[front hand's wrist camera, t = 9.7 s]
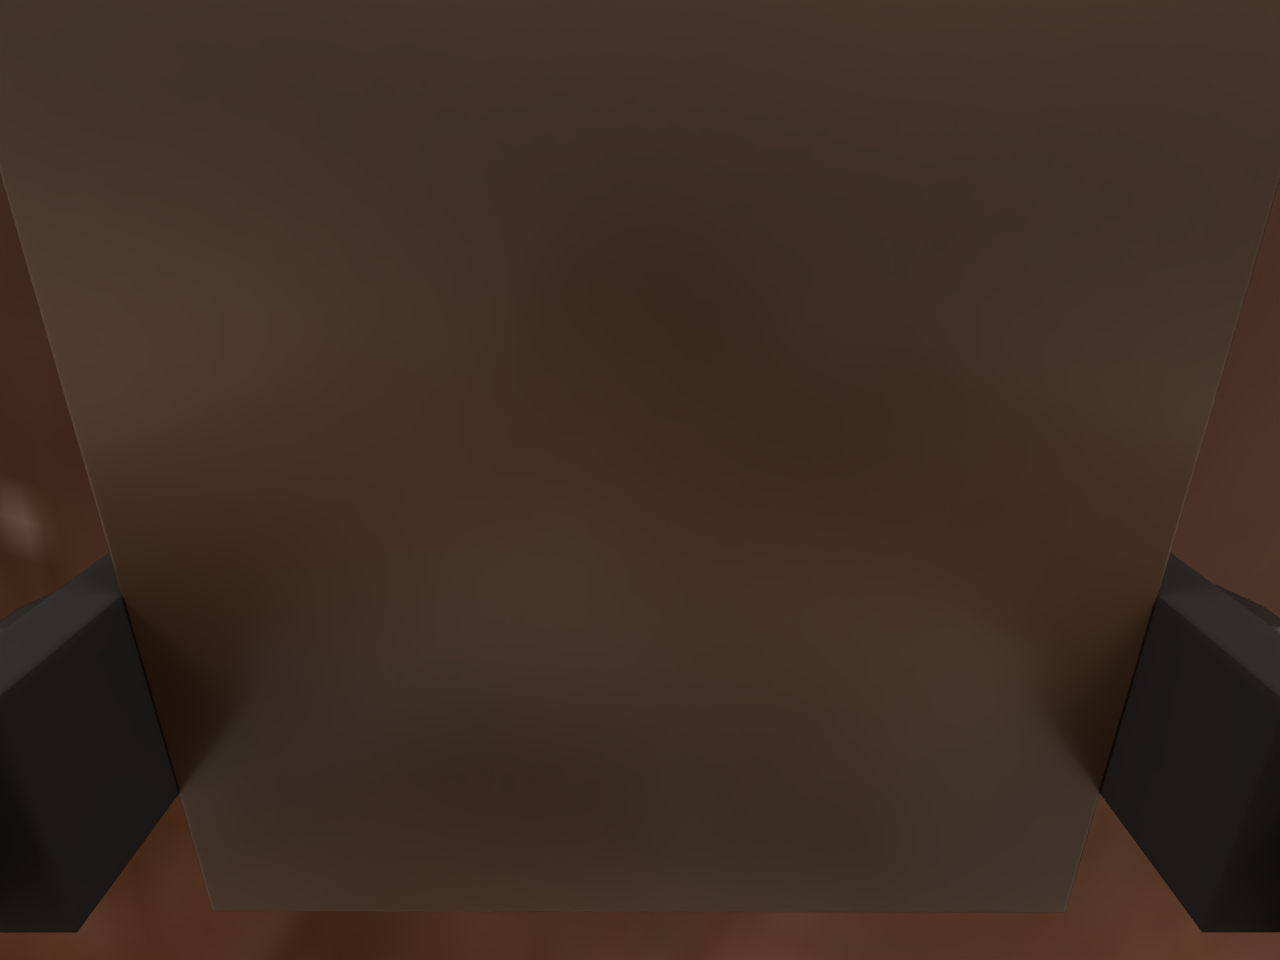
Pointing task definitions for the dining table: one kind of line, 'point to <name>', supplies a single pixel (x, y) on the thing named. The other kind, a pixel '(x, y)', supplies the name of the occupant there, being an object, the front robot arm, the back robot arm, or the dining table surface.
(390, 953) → the dining table surface
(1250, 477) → the dining table surface
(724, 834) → the taupe rectangular block
